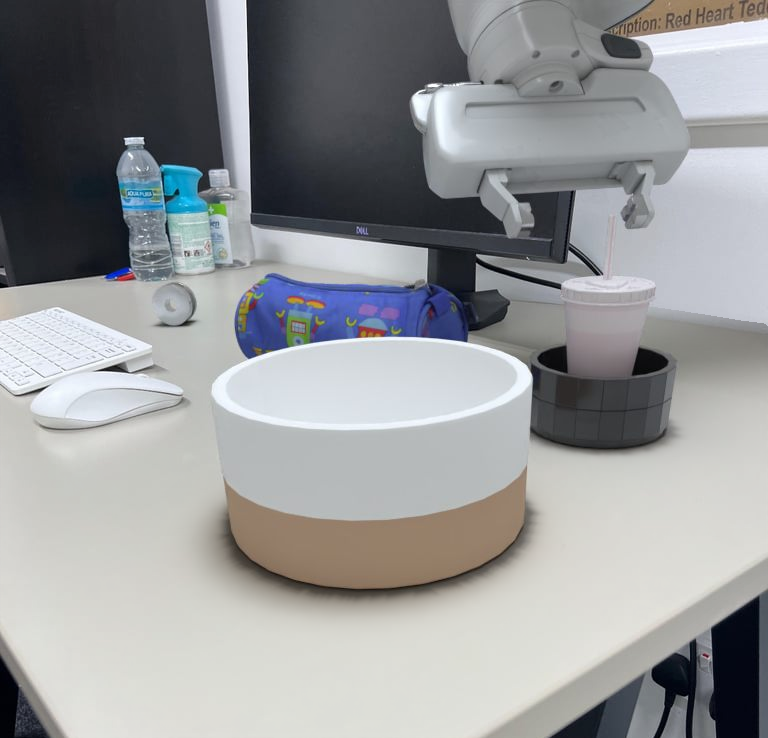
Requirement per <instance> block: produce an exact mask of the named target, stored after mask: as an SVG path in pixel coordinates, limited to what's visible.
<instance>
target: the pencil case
mask: <svg viewBox="0 0 768 738" xmlns="http://www.w3.org/2000/svg"><path fill="white" fill-rule="evenodd" d="M479 321H480V319H479V317H478V314H477V313H476V310H475V307H474V304H473V302H470V301H463V302H461V300H459V298H458V297H456V296H455V295H454V294H453V293H452V292H450V291H448V290H447V289H446V288H444V287H441V286H439V285H437V284H434V283H432V282H431V283H429V282H426V279H424V278H421V279H417V280H415V282H412V283H407V284H404V286H400V285H393V284H391V285H390V284H376V285H374V284H364V283H348V284H347V283H345V284H344V283H324V282H306V281H301V280H296V279H293V278H289V277H287V276H284V275H282V274H279V273H277V272H271V273H267V274H266V275H265V276H264V278H261V279H260V280H259V281H258V282H257V283H255V284H253V285H252V287H250V288H249V289H248V290H246V291H245V292H244V293H243V295H242V296H240V299H239V301H238V302H237V305H236V309H235V314H234V324H233V325H234V334H235V338H236V342H237V344H238V347H239V349H240V351H241V353H242V354H243V355H244V356H245V358H247V360H249V359H251V358H254V357H257V356H260V355H263V354H266V353H269V352H273V351H277V350H281V349H285V348H289V347H294V346H300V345H305V344H311V343H317V342H325V341H333V340H342V339H354V338H371V337H418V338H434V339H444V340H453V341H461V342H466V343H468V340H469V323H471V324H474V325H476V324H477V323H478V322H479Z"/></svg>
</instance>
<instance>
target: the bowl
mask: <svg viewBox="0 0 768 738" xmlns="http://www.w3.org/2000/svg"><path fill="white" fill-rule="evenodd" d="M532 384H533V377H532V374H531V372H530V370H529V369H528V365H527V364H525V362H522V361H521V360H520V359H519V358H517V357H515V356H513V355H511V354H508V353H507V352H504V351H503V350H498V349H495V348H491V347H488V346H485V345H481V344H476V343H470V342H467V343H466V342H461V341H453V340H444V339H434V338H418V337H371V338H354V339H342V340H333V341H325V342H317V343H311V344H305V345H300V346H294V347H289V348H285V349H281V350H277V351H273V352H269V353H266V354H263V355H260V356H257V357H254V358H251V359H246V360H244V361H241V362H239V363H238V364H235V365H233V366H231V367H229V368H228V369H227V370H225V371H224V372H223V373H221V374H220V375H219V376H217V378H216V379H215V380H214V381H213V383H212V384H211V388H210V395H209V396H210V397H209V398H210V404H211V405H210V406H211V411H212V418H213V425H214V431H215V437H216V443H217V444H216V445H217V450H218V457H219V462H220V463H219V464H220V469H221V470H220V471H221V474H222V477H223V484H224V490H225V491H224V492H225V497H226V505H227V510H228V517H229V522H230V523H229V524H230V530H231V533H232V536H233V538H234V540H235V542H236V545H237V546H238V548H239V549H240V550H241V551H242V552H243V553H244V554H245V555H246V556H247V557H248V558H249V559H250V560H251V561H253V562H254V563H256V564H258V565H259V566H261V567H263V568H265V569H266V570H267V571H269V572H272V573H275V574H278V575H280V576H283V577H285V578H288V579H291V580H294V581H299V582H301V583H303V582H304V583H307V584H312V585H317V586H323V587H331V588H342V589H352V590H353V589H355V590H363V589H364V590H365V589H392V588H393V589H394V588H400V587H401V588H402V587H409V586H416V585H424V584H428V583H431V582H435V581H439V580H444V579H447V578H452V577H455V576H458V575H461V574H463V573H465V572H468V571H471V570H474V569H476V568H478V567H481V566H483V565H484V564H485V563H487V562H489V561H490V560H492V559H494V558H496V557H498V556H500V555H501V554H502V553H503V552H504V551H505V550H506V549H507V548H508V547H509V546H510V545H511V544H512V543H513V542H515V541H516V538H517V537H518V535H519V533H520V532H521V529H522V527H523V526H524V523H525V514H526V513H525V512H526V496H527V478H528V465H529V453H530V437H531V436H530V435H531V426H530V420H531V402H532Z"/></svg>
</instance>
